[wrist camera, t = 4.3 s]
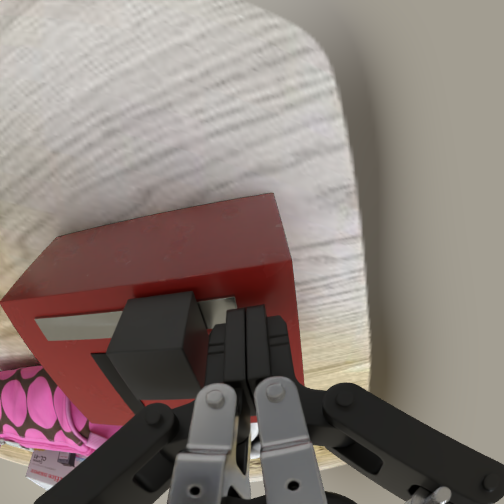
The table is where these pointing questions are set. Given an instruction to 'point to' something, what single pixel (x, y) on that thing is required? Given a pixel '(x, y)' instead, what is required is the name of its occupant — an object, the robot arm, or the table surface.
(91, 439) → the pencil case
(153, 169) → the table surface
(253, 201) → the toaster
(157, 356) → the toaster slider
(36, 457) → the ink box
